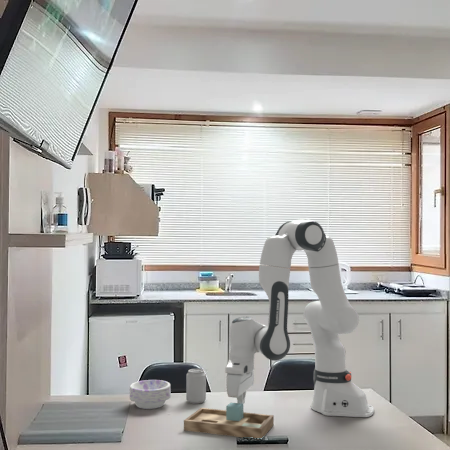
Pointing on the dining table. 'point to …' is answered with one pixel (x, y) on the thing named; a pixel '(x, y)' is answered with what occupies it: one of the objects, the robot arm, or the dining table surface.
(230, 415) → the block
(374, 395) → the dining table surface
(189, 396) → the can
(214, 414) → the wooden tray
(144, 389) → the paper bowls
